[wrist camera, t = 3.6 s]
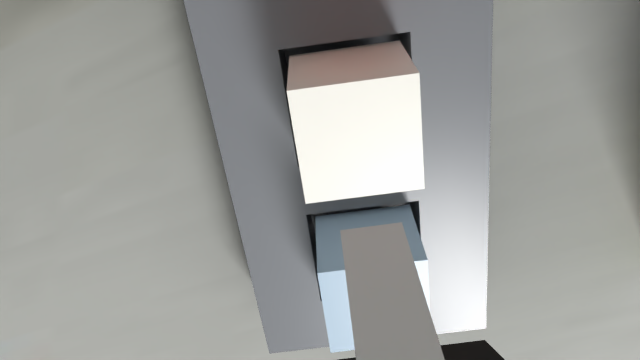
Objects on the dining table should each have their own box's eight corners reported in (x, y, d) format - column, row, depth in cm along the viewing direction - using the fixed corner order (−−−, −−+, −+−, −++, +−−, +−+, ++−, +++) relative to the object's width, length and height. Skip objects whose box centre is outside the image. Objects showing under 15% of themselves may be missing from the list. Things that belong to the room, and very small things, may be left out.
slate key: (315, 216, 26) (317, 273, 23) (409, 204, 26) (427, 259, 22) (327, 289, 29) (330, 352, 25) (414, 278, 28) (431, 340, 25)
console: (144, -264, 20) (111, -294, 17) (465, -316, 20) (500, -359, 16) (273, 304, 34) (269, 353, 30) (466, 281, 33) (486, 328, 30)
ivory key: (289, 55, 23) (286, 91, 19) (399, 40, 22) (419, 72, 19) (305, 153, 25) (305, 204, 21) (405, 140, 25) (424, 188, 21)
